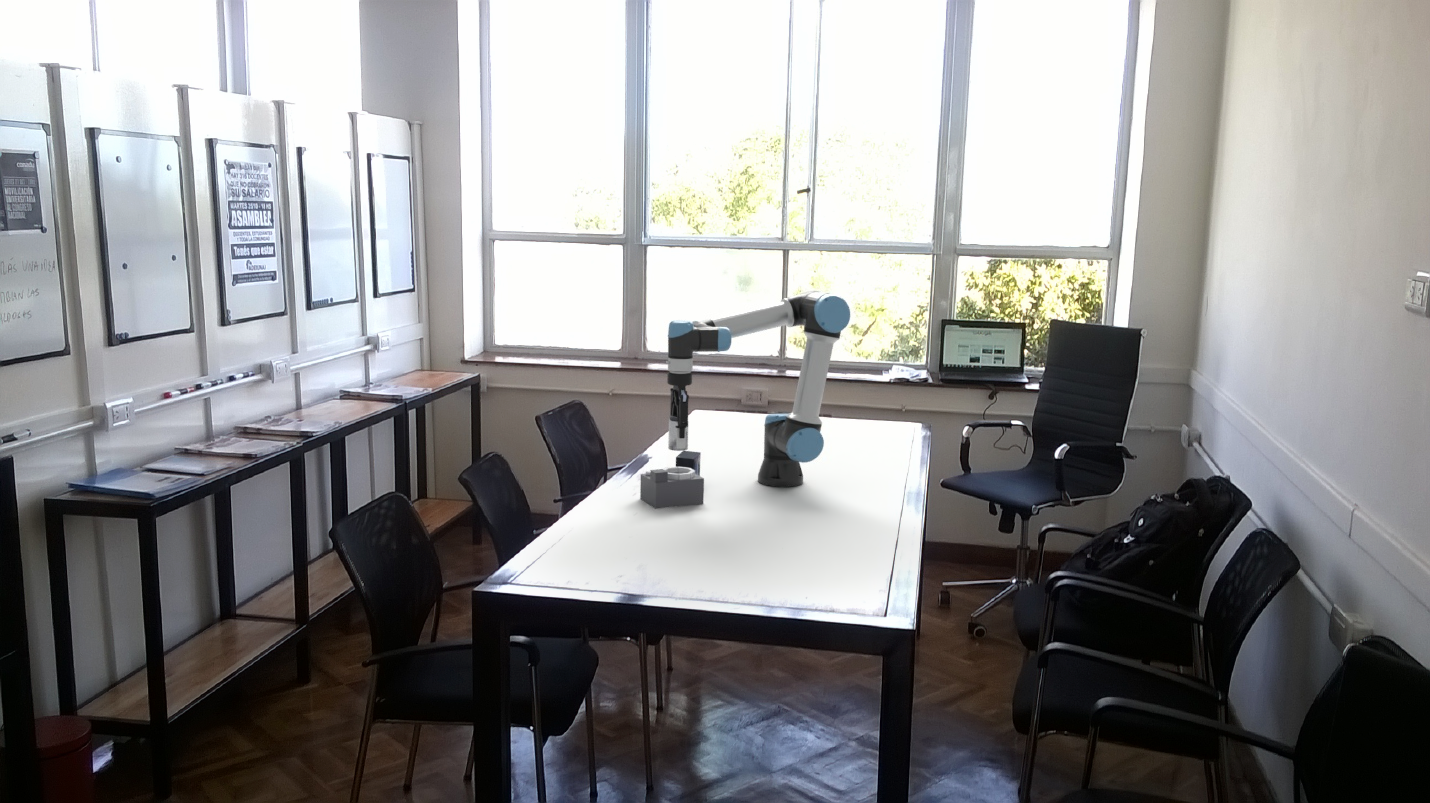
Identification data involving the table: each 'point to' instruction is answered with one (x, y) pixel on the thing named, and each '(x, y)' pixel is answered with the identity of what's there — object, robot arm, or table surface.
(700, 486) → the camera body
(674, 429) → the lens
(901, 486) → the table surface
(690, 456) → the small box
